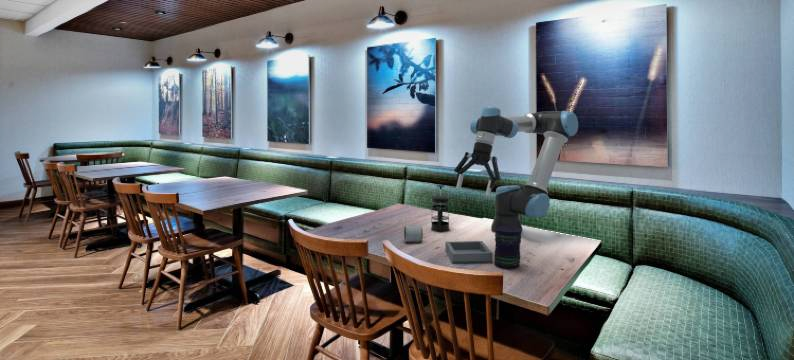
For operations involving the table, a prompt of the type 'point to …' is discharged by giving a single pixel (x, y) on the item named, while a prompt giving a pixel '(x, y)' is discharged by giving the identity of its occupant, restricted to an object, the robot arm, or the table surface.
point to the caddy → (468, 252)
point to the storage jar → (507, 247)
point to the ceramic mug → (413, 233)
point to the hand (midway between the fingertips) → (472, 192)
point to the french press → (440, 213)
